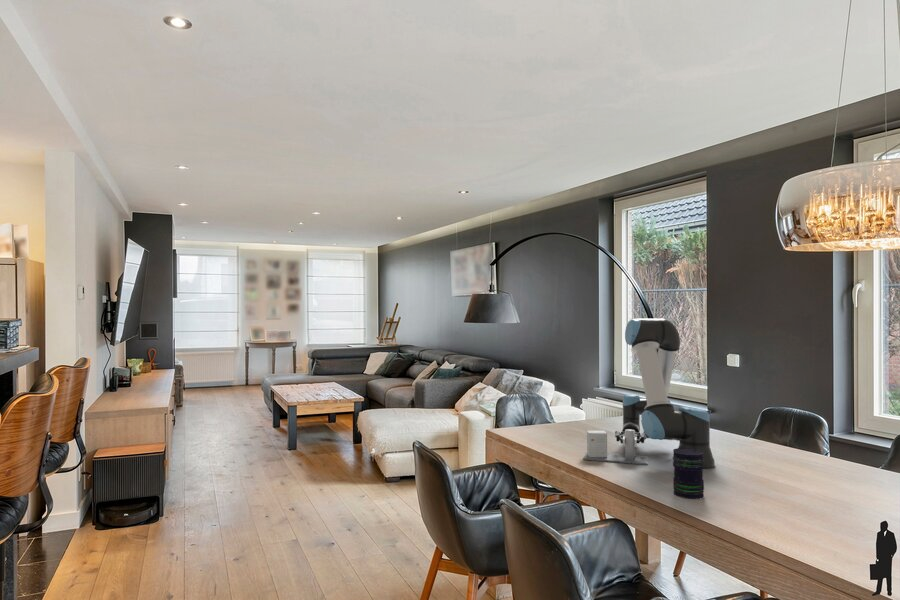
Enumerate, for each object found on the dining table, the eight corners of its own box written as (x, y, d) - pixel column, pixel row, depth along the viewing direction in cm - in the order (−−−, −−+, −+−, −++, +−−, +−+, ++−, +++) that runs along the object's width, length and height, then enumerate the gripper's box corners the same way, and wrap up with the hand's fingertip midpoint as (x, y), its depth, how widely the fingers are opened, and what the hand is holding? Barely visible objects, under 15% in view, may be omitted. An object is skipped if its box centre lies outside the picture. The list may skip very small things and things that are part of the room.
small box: (605, 454, 254) (605, 430, 254) (607, 457, 248) (607, 433, 248) (586, 454, 254) (586, 430, 255) (588, 457, 249) (588, 432, 249)
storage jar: (685, 500, 194) (685, 455, 194) (667, 491, 203) (666, 449, 203) (710, 497, 196) (710, 453, 197) (690, 489, 206) (690, 447, 206)
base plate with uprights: (647, 457, 250) (647, 428, 250) (647, 464, 239) (647, 434, 239) (586, 453, 259) (585, 424, 259) (583, 459, 247) (583, 430, 247)
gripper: (650, 441, 261) (651, 453, 239) (611, 439, 266) (608, 450, 244) (650, 424, 261) (651, 435, 239) (611, 422, 267) (608, 432, 245)
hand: (629, 442), depth 242 cm, fingers closed on base plate with uprights, 4 cm apart
